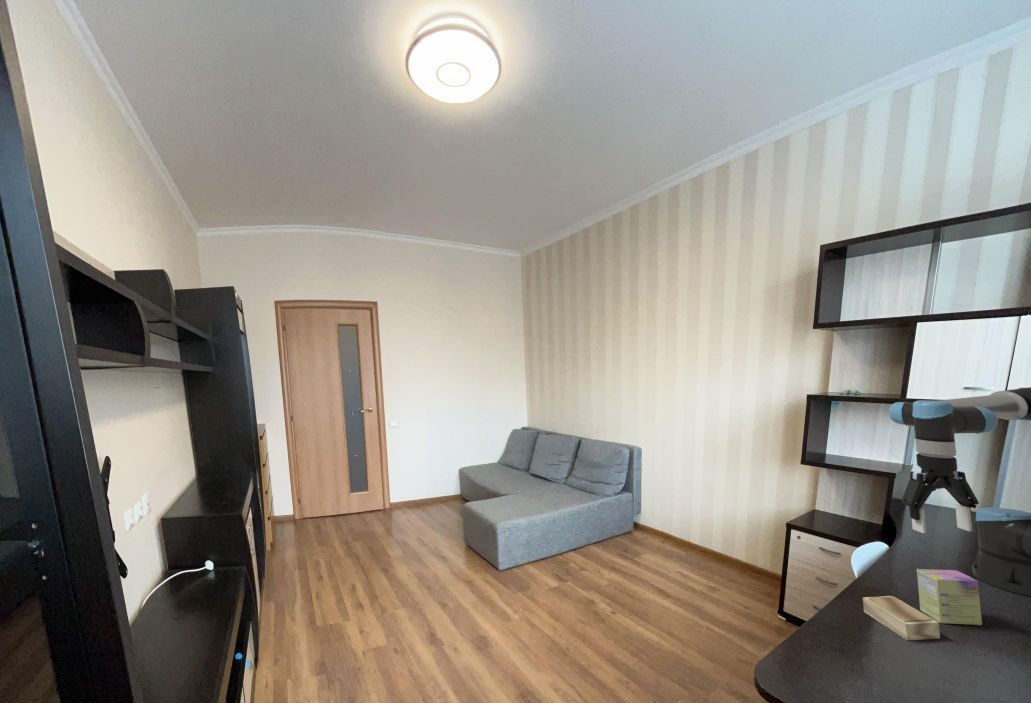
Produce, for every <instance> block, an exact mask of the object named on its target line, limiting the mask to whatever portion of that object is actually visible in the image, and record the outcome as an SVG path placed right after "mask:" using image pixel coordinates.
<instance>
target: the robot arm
mask: <svg viewBox="0 0 1031 703" xmlns="http://www.w3.org/2000/svg"><path fill="white" fill-rule="evenodd" d="M888 415H889V418H890V420H891V421H893V422H894V423H896V424H899V425H903V426H904V425H905V426H907V427H908V426H910V427H914V428H913V429H914V439H915V451H916V452H917V454H916V466H918V467H919V468H920V472H916V471H910V472H909V480H908V483H907V485H906V488H905V490H904V493H903V496H902V499H901V504H902V505H905V506H908V507H909V517H910V519H911V526H912V528H911V529H912V530H914V531H915V532H919V533H922V534H927V529H926V527H927V526H926V515H925V513H926V512H925V509H923V508H922V507H923V506H924V505H925V503H926V501H927V500H928V499H929V497H930V495H931V494H932V493H933V492H935V491H937V490H941V489H945V490H946V491H947V492H948V494H950V495H951V497H952V498H953V499H954V500H955V501H956V502H957V503H956V504H955V514H956V516H955V517H956V527H957V528H958V529H961V530H964V531H966V532H973V526H972V509H976V508H977V506H978V505H979V501H978V499H977V496H976V495H975V493H974V491H973V489H972V488H971V486H970V484H969V482H968V480H967V478H966V473H965V472H964V471H959V470H958V461H957V458H956V456H957V447H956V446H957V445H956V441H955V440H956V438H955V434H976V435H977V434H983V433H990V432H992V431H994V430H995V429H996V428H997V427H998V422H999V421H998V420H999V419H1002V420H1006V421H1018V420H1019V421H1029V422H1030V421H1031V386H1030V387H1023V388H1015V389H1007V390H998V391H994V392H992V393H991V394H989V395H980V396H979V395H978V396H972V397H971V396H970V397H969V396H968V397H960V398H950V399H940V400H939V399H938V400H916V401H913V402H908V401H904V402H903V401H898V402H894V403H893V404H891V405H890V407H889V410H888ZM975 522H976V523H975V525H976V533H977V543H978V544H977V545H978V554H977V556H976V557H975V560H974V561H973V564H972V567H971V569H972V574H973V576H975V578H977V579H978V580H980V581H982V582H984V583H986V584H989V585H991V586H993V587H996V588H999V589H1002V590H1004V591H1008V592H1011V593H1015V594H1019V595H1024V596H1028V597H1031V512H1028V511H1025V510H1019V509H1013V508H1012V509H1011V508H1004V507H1003V508H1002V507H989V506H988V507H980V508H977V509H976V511H975Z"/></svg>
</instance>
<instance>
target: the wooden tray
mask: <svg viewBox="0 0 1031 703" xmlns="http://www.w3.org/2000/svg"><path fill="white" fill-rule="evenodd" d="M862 604H863V613H865V614H867V615H868V616H870V617H871V618H873V619H874V620H876V621H877V622H879V623H880V624H882V625H883V626H885V627H886V628H888V629H889V630H891V631H893V632H894V633H895V634H897V635H899V636H900V637H902V638H903V639H904V640H906V641H920V640H921V641H922V640H934V639H935V640H938V639H941V634H940V622H938V621H937V620H935V619H933V618H932V617H930V616H929V615H927V614H926V613H924V612H922V611H921V610H920V611H919V610H918V609H917V608H915V607H913V606H910V605H909V604H907V603H905V602H904V601H903V600H900V599H898V598H897V597H896V596H893V595H885V596H866V597H864V596H863V597H862Z"/></svg>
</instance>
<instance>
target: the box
mask: <svg viewBox="0 0 1031 703" xmlns="http://www.w3.org/2000/svg"><path fill="white" fill-rule="evenodd" d="M916 573H917V574H916V575H917V576H916V577H917V586H918V597H919V598H918V599H919V600H918V601H919V609H920V612H921V613H923V614H925V615H927V616H928V617H930V618H932V619H934V620H935V621H937V622H939V624H956V625H975V626H976V625H977V626H982V625H983V620H982V611H981V609H982V608H981V603H980V602H981V601H980V600H981V599H980V591H979V590H980V589H979V582H978V580H977V579H974V578H973V577H971V576H969V575H967V574H965V573H963V572H960V571H958V570H955V569H954V570H953V569H931V568H930V569H929V568H928V569H927V568H926V569H925V568H916Z"/></svg>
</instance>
